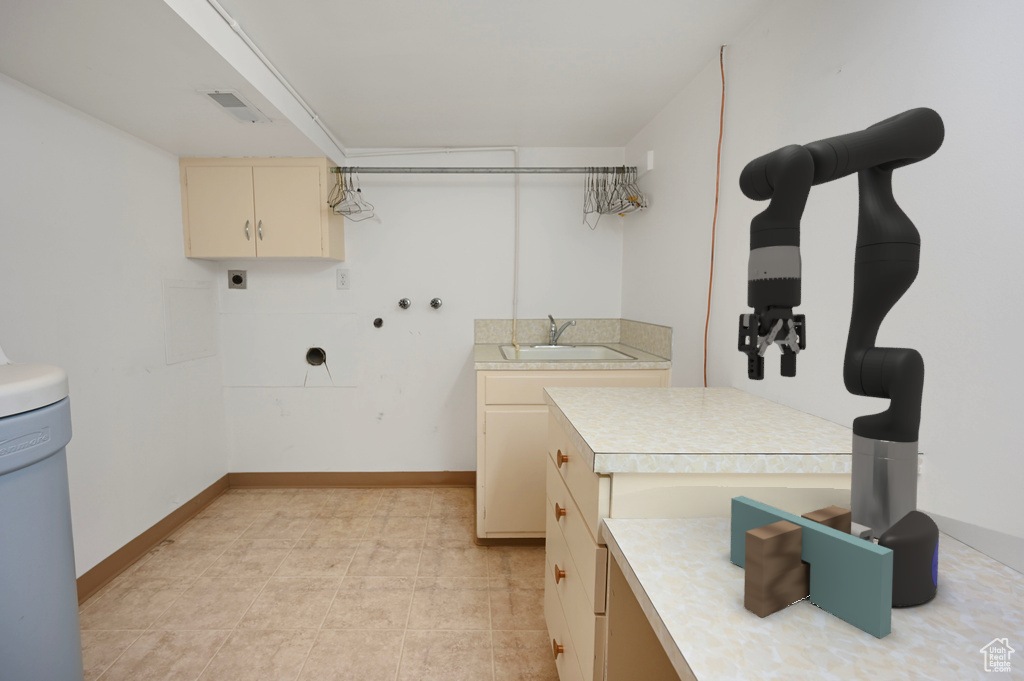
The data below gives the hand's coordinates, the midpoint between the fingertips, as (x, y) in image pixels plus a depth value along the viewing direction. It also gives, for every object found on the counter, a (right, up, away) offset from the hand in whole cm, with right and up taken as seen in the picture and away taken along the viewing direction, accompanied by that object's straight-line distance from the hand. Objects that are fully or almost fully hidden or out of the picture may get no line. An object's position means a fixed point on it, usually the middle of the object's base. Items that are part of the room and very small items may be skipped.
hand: (772, 378), depth 75 cm
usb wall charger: (+14, -29, +3) cm, 32 cm away
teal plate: (-2, -29, -11) cm, 31 cm away
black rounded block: (+13, -29, -9) cm, 33 cm away
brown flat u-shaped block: (-2, -29, -11) cm, 31 cm away
